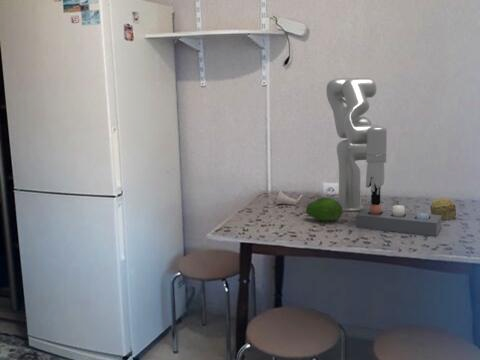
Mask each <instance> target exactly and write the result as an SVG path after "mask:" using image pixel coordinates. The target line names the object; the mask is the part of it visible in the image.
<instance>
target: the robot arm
mask: <svg viewBox="0 0 480 360" xmlns="http://www.w3.org/2000/svg"><path fill="white" fill-rule="evenodd" d="M325 91H326V97H327V101H328V103H329V105H330V108H331V110H332V112H333V117H334V124H335V130H336V134H337V136H338V137H339V138H340V139H345V140H341V141H340V142H338V143H337V146H336V155H337V160H338V198H333V197H331V198H332V199H334V200H336V201H337V202H338V203H339V204H340V205H341V207H342V210H343V211H342V212H351V213H352V212H361V211H362V210H363V209H365V206H364V205H363V204H361V169H360V166H359V165H358V164H357V163H356V162H357V161H365V162H366V172H365V173H366V175H365V176H366V177H365V187H366V188H367V189H368V188H370V195H371V196H370V197H371V199H370V204H374V205H379V204H381V193H382V192H381V191H382V190H381V189H382V186H383V185H384V184H385V164H386V163H387V141H388V140H387V131H388V130H387V128H386V127H384V126H380V125H377V124H372V122H371V120H370V119H369V118H368V117H366V116H363V115H364V114H366V113H367V112H368V111H369V109H370V104H369V103H370V102H369V101H368V99H369V98H373V97H375V95H376V94H377V84H376V82H375V80H374V79H373V78H372V77H371V78H370V77H351V78H350V77H345V78H335V79H331V80H329V82H328V83H326V89H325Z"/></svg>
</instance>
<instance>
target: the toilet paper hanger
mask: <svg viewBox="0 0 480 360" xmlns="http://www.w3.org/2000/svg"><path fill="white" fill-rule="evenodd" d="M303 195H304V194H303V193H300V196H299V197H298V198H296V199H294V198H293V197H292V198H291V197H290V196H287V195H286V194H285V193H283V191H282V190H281V189H280V190H279V192H278V194H277V197H276V203H275V204H276V205H275V206H278V204H279V205H281V204H289V205H294V206H297V205H299V203H300V200H301V199H302V198H303ZM301 197H302V198H301Z"/></svg>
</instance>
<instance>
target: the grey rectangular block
mask: <svg viewBox="0 0 480 360" xmlns="http://www.w3.org/2000/svg"><path fill="white" fill-rule="evenodd" d="M417 213H418V212H411V211H405V213H404V217H394V216H393V210H388V209H387V210H386V209H381V215H374V214H370V208H365V207H364V209H363V210H360V211H358V213H356V214H355V227H356V228H360V229H369V230H376V231H378V230H379V231H386V232H394V233H396V232H397V233H403V234H404V233H406V234H413V235H421V236H431V237H437V236H438V235H439V233H440V231H441V230H442V226H443V225H442V224H443V220H442V215H433V214H431V213H428V214H429V220H425V219H416V218H417Z"/></svg>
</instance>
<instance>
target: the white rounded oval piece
mask: <svg viewBox="0 0 480 360" xmlns="http://www.w3.org/2000/svg"><path fill="white" fill-rule="evenodd" d="M405 209H406V208H405V205H399V204H395V205H393V206H392V211H393V216H394V217H404V213H405V212H406V210H405Z"/></svg>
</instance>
